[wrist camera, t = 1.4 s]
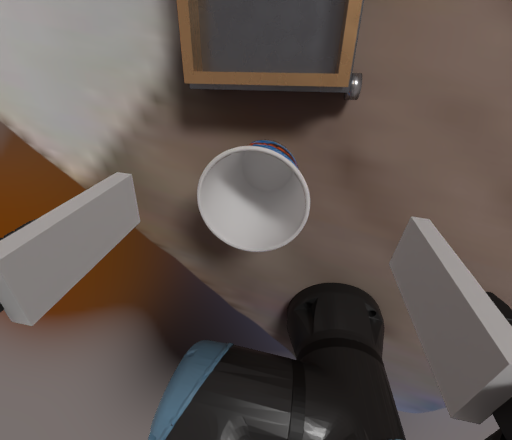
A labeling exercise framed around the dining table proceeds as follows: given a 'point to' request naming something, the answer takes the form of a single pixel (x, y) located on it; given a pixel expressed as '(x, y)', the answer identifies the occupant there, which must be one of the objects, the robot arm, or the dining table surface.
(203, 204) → the coffee cup
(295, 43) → the square wooden box
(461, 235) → the dining table surface
